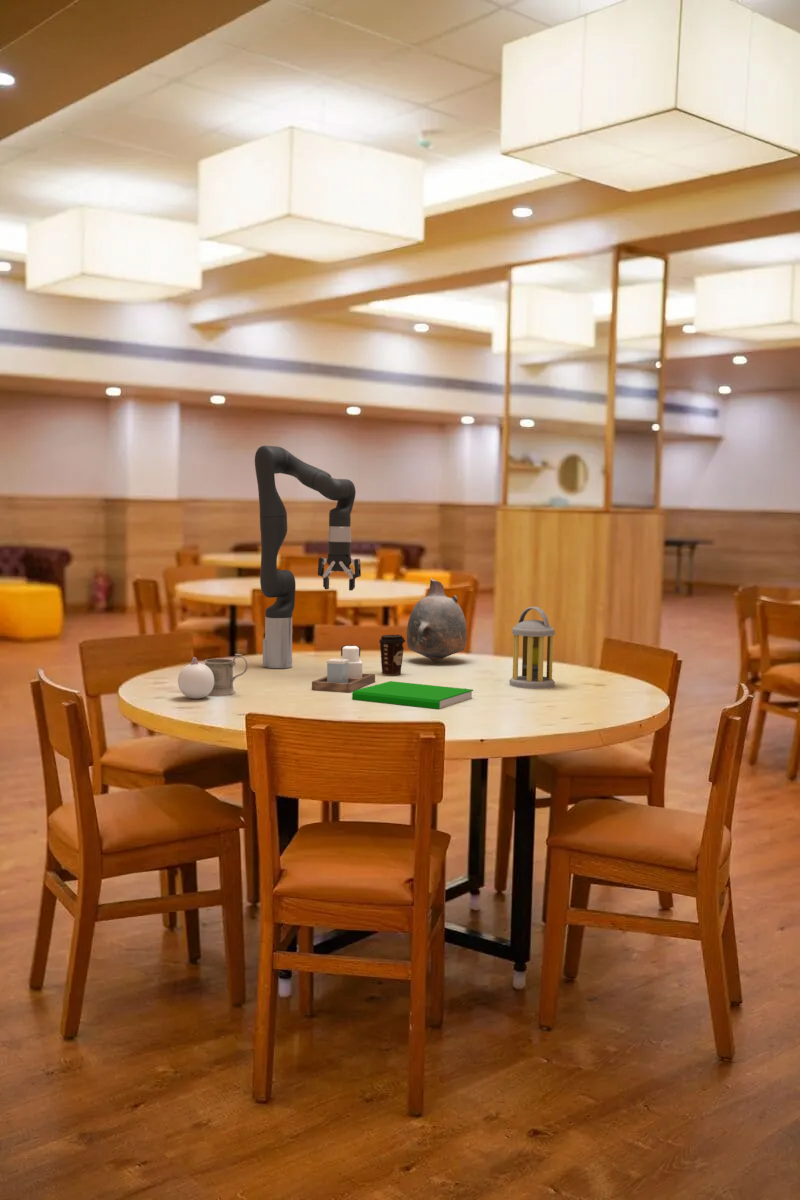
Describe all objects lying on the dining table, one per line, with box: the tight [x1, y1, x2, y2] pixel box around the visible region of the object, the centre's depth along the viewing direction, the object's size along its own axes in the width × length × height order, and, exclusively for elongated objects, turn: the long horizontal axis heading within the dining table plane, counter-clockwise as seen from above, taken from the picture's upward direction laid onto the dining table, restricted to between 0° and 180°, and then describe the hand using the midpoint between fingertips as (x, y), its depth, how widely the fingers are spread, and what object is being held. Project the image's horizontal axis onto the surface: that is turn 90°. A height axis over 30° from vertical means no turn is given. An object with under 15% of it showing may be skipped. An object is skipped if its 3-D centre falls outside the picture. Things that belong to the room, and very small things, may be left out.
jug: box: [406, 577, 468, 663], centre depth 427 cm, size 24×21×30 cm
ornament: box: [177, 656, 214, 700], centre depth 344 cm, size 10×10×12 cm
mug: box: [204, 653, 249, 697], centre depth 353 cm, size 14×10×12 cm
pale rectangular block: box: [325, 657, 349, 684], centre depth 366 cm, size 5×5×9 cm
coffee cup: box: [378, 634, 406, 676], centre depth 396 cm, size 9×8×13 cm
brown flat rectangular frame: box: [311, 672, 376, 694], centre depth 371 cm, size 12×23×2 cm, turn 162°
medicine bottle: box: [340, 644, 363, 679], centre depth 376 cm, size 7×7×12 cm
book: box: [351, 680, 474, 710], centre depth 350 cm, size 22×28×3 cm
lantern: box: [509, 606, 556, 690], centre depth 378 cm, size 14×14×25 cm
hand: (339, 589), depth 392 cm, fingers open, 8 cm apart
